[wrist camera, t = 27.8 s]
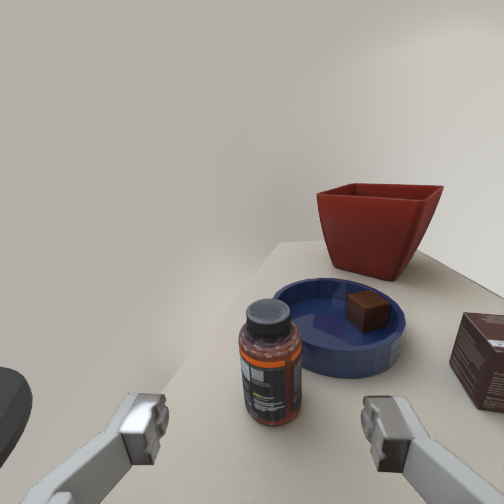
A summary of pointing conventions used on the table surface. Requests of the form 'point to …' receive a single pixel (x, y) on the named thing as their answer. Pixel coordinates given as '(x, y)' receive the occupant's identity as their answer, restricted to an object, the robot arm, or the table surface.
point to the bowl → (340, 329)
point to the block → (367, 311)
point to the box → (481, 359)
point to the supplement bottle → (271, 362)
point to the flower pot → (376, 225)
